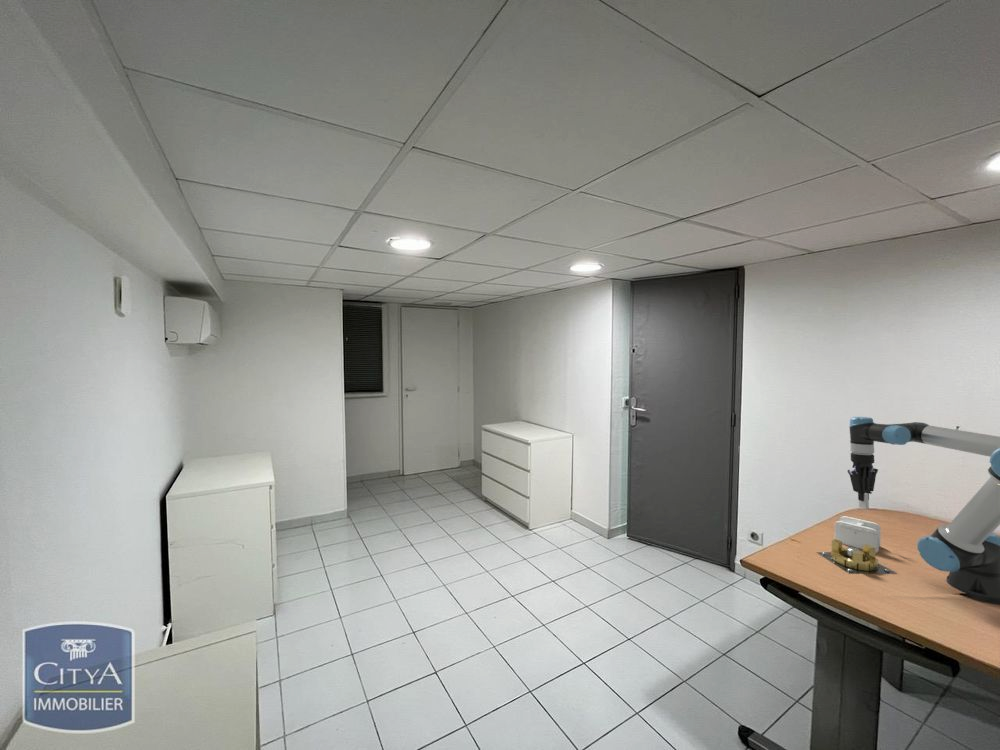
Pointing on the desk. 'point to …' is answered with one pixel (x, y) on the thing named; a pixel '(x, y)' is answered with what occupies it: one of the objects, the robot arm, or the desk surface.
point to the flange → (849, 570)
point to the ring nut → (855, 557)
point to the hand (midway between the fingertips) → (863, 508)
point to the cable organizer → (858, 532)
